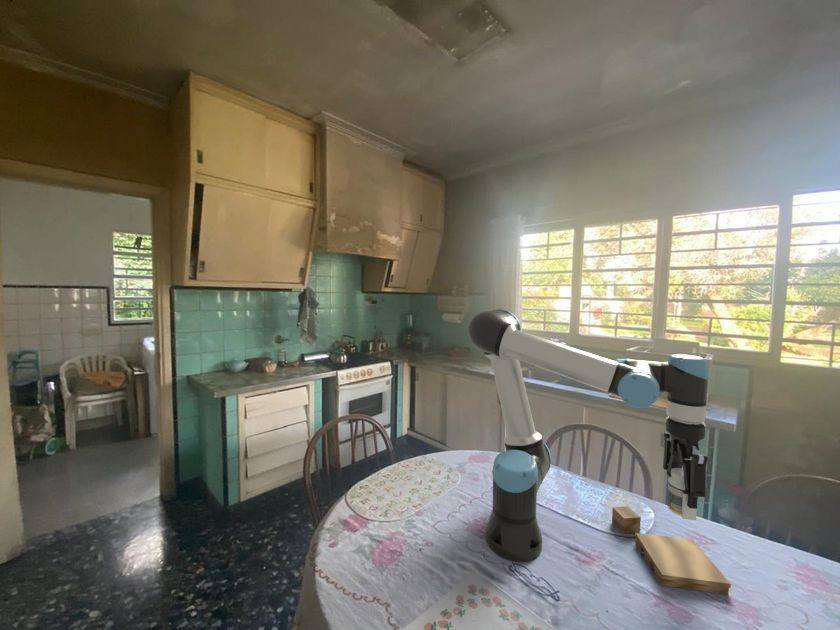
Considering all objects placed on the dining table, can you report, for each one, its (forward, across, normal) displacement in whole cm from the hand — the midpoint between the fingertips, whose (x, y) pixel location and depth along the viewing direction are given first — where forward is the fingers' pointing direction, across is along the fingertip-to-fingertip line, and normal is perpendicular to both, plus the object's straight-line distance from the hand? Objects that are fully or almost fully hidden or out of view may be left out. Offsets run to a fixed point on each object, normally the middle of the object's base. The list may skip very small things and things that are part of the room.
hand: (681, 509), depth 84 cm
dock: (+15, 0, 0) cm, 15 cm away
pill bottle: (0, 0, 0) cm, 0 cm away
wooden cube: (+15, +13, +7) cm, 21 cm away
